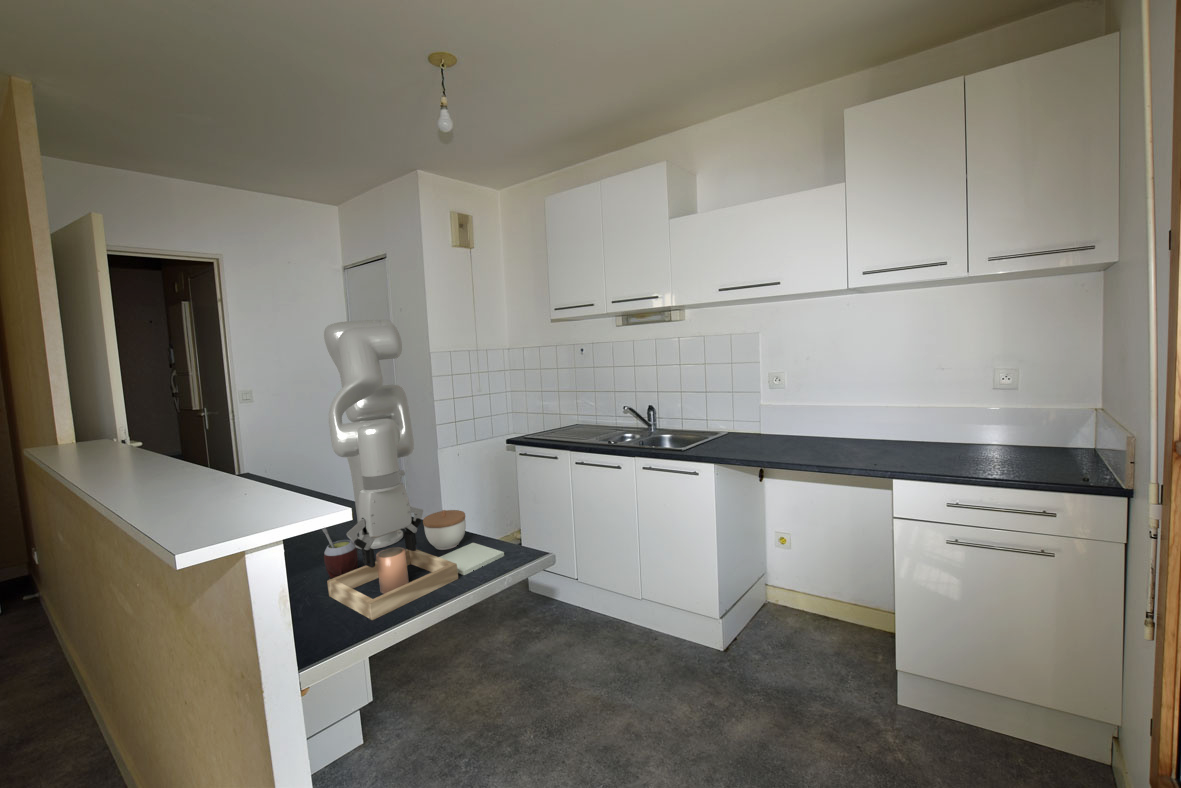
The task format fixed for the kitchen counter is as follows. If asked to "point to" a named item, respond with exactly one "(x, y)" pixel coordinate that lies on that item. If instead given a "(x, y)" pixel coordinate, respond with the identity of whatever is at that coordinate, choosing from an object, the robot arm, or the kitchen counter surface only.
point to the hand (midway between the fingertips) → (391, 557)
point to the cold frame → (398, 597)
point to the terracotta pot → (392, 569)
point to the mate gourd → (340, 557)
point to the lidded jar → (445, 528)
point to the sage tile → (472, 557)
